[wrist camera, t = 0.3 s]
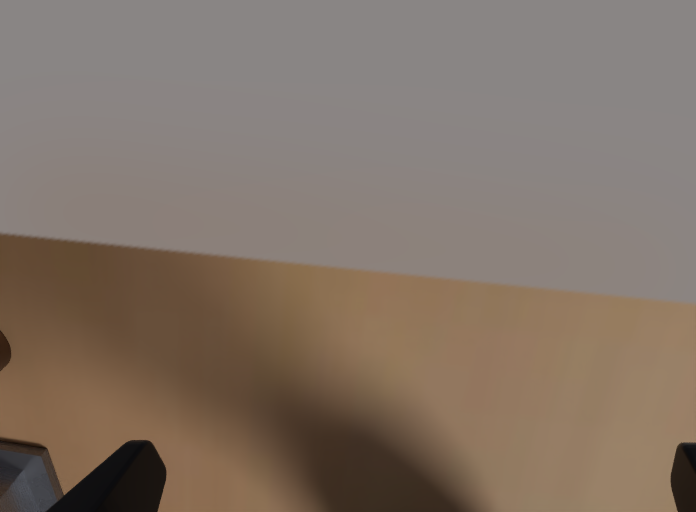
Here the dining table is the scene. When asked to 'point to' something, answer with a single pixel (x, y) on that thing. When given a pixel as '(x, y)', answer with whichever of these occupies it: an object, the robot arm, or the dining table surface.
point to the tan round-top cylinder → (4, 351)
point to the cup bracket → (27, 479)
